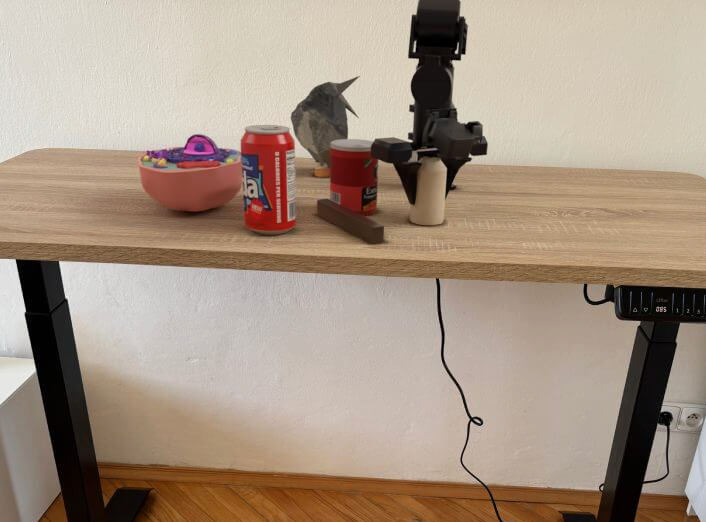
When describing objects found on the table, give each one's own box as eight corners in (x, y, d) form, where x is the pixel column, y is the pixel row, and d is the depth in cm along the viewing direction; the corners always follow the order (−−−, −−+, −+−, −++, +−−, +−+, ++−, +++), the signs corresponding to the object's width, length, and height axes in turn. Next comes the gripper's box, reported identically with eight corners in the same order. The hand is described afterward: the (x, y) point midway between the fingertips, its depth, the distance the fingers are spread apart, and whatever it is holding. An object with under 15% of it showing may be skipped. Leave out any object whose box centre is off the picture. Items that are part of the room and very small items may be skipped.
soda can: (301, 235, 118) (299, 131, 111) (248, 238, 116) (243, 132, 109) (291, 221, 125) (288, 123, 117) (241, 224, 122) (236, 123, 115)
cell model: (115, 215, 125) (105, 142, 119) (186, 190, 141) (181, 124, 136) (206, 229, 119) (200, 153, 114) (269, 201, 136) (267, 133, 130)
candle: (418, 226, 124) (422, 162, 119) (403, 218, 128) (406, 155, 124) (449, 224, 126) (453, 160, 121) (433, 215, 130) (437, 153, 126)
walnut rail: (327, 213, 130) (327, 198, 129) (383, 242, 116) (384, 225, 115) (317, 214, 129) (316, 199, 128) (372, 243, 115) (372, 227, 114)
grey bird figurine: (275, 171, 157) (271, 74, 149) (334, 162, 167) (334, 71, 158) (319, 184, 148) (318, 82, 140) (378, 174, 158) (381, 78, 149)
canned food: (371, 218, 128) (373, 148, 123) (324, 214, 130) (324, 145, 124) (381, 207, 135) (383, 140, 130) (336, 203, 136) (337, 137, 131)
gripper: (410, 109, 108) (405, 221, 115) (515, 103, 117) (504, 208, 124) (370, 99, 116) (367, 204, 124) (470, 94, 125) (462, 192, 132)
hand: (427, 202), depth 126 cm, fingers closed on candle, 5 cm apart
